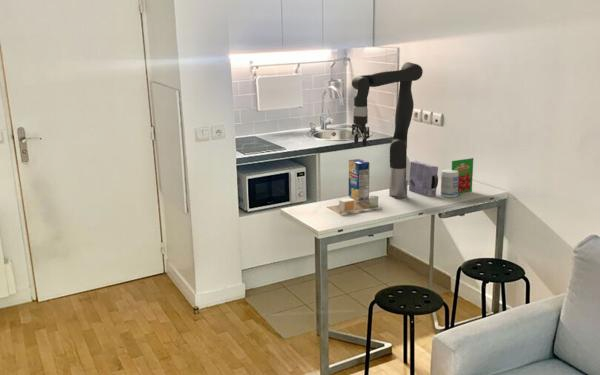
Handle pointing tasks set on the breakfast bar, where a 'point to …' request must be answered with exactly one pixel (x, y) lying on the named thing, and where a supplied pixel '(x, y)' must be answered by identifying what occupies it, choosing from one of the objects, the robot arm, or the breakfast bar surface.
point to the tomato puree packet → (464, 174)
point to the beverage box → (359, 179)
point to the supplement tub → (449, 183)
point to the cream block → (347, 205)
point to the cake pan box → (423, 178)
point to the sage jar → (373, 201)
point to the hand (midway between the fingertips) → (360, 144)
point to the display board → (356, 208)
